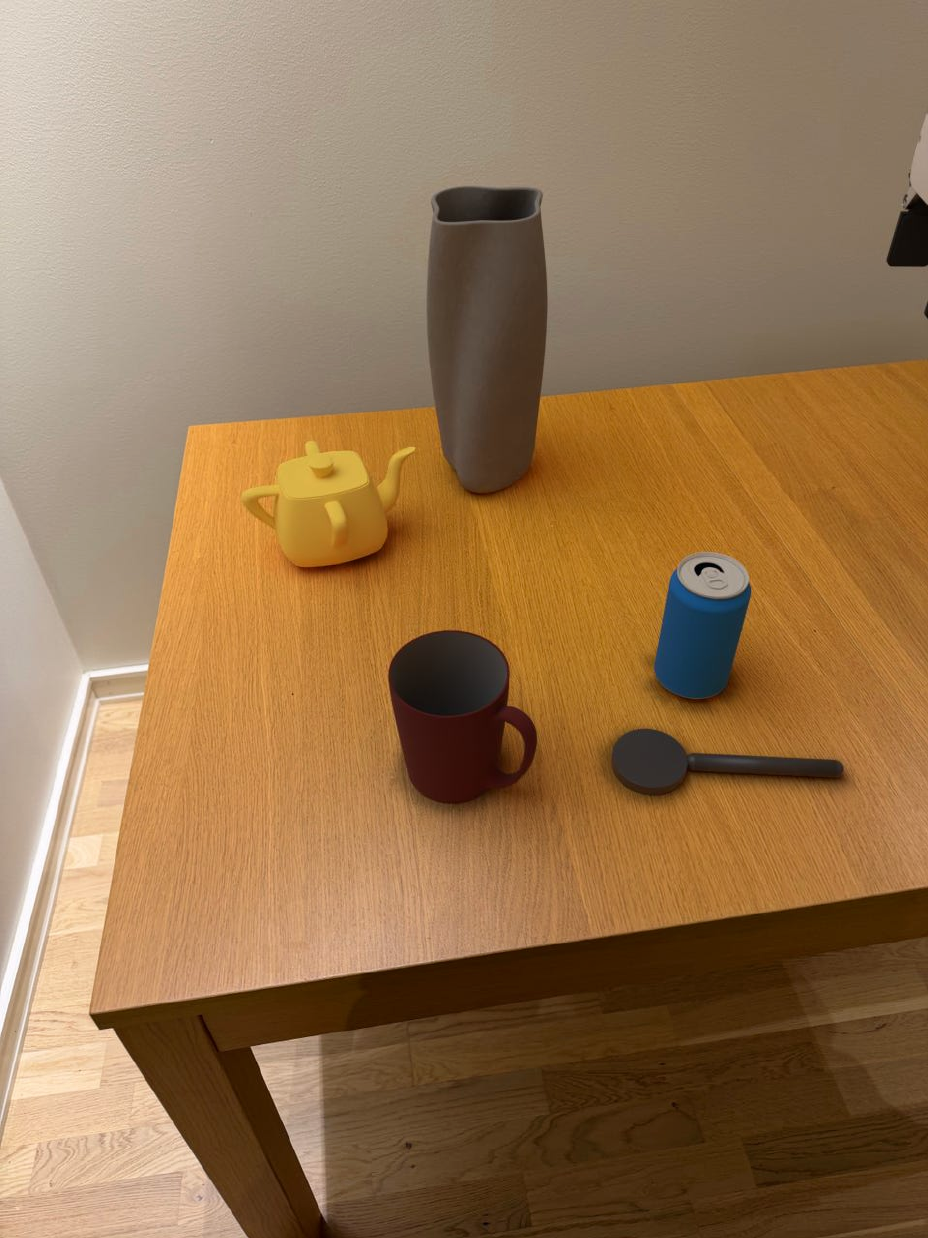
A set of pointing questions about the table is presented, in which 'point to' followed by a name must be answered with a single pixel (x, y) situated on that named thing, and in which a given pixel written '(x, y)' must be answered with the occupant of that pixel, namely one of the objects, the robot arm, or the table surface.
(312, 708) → the table surface
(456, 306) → the vase
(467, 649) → the mug
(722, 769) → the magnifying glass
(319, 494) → the teapot
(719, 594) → the beverage can
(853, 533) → the table surface
